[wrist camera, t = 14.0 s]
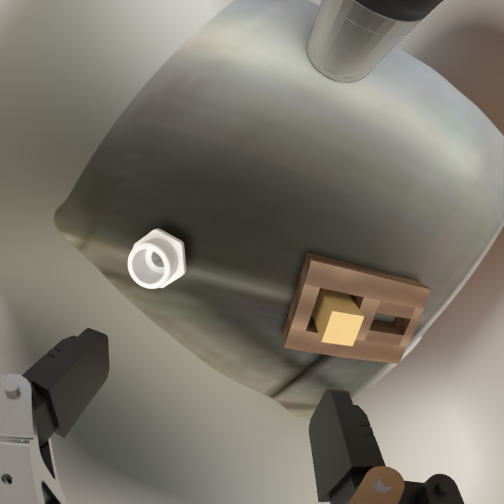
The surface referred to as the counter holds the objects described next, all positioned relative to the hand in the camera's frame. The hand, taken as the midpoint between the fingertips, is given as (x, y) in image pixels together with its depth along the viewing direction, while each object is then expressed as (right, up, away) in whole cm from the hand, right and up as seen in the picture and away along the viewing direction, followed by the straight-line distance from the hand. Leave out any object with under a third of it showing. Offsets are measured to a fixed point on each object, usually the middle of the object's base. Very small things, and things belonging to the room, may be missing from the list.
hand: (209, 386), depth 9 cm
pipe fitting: (-9, +5, +28) cm, 30 cm away
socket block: (+16, -3, +29) cm, 33 cm away
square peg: (+12, -2, +29) cm, 31 cm away
